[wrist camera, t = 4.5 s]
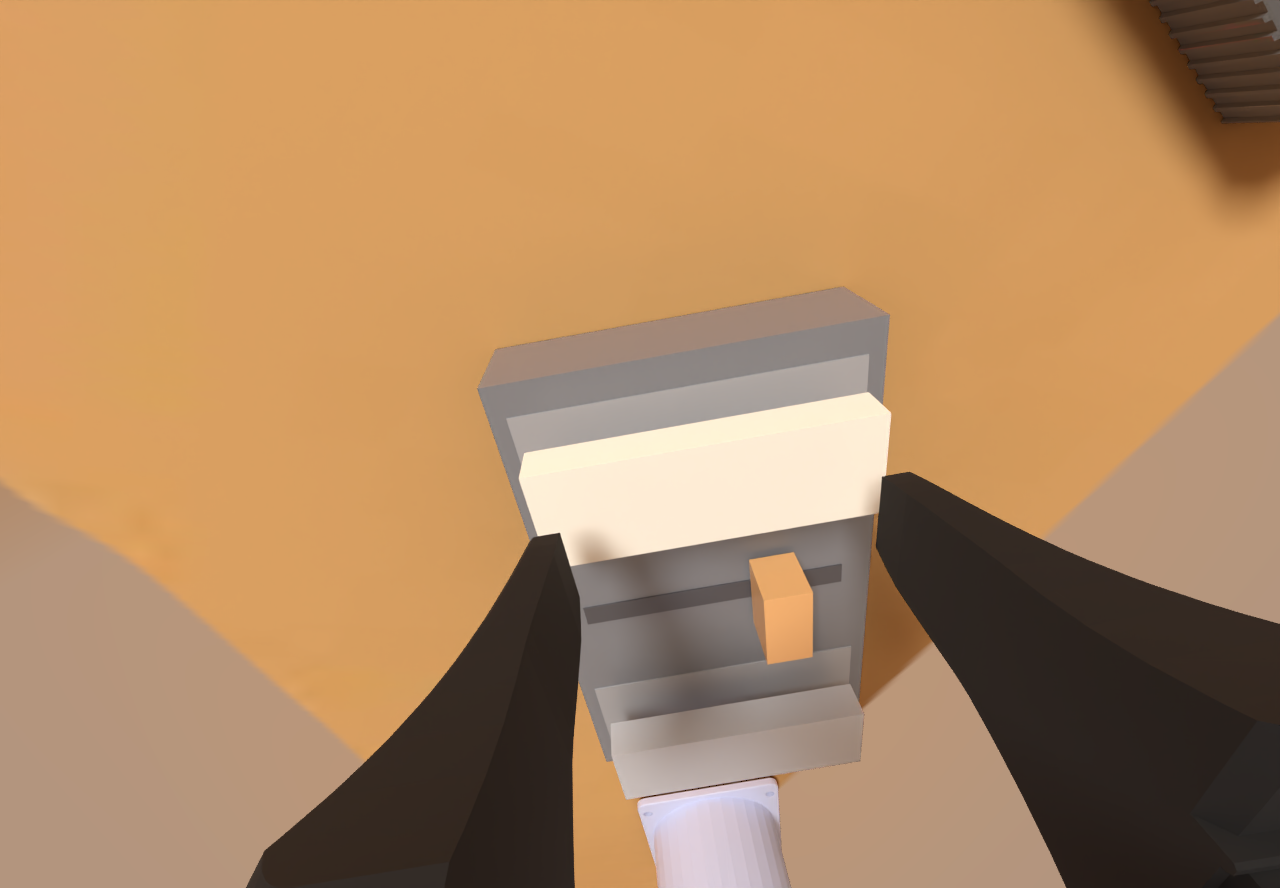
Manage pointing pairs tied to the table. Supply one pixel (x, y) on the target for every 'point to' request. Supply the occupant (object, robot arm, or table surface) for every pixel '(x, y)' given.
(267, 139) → the table surface
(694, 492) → the cream bar
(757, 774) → the grey bar
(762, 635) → the orange rectangular block
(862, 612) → the panel
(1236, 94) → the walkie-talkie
